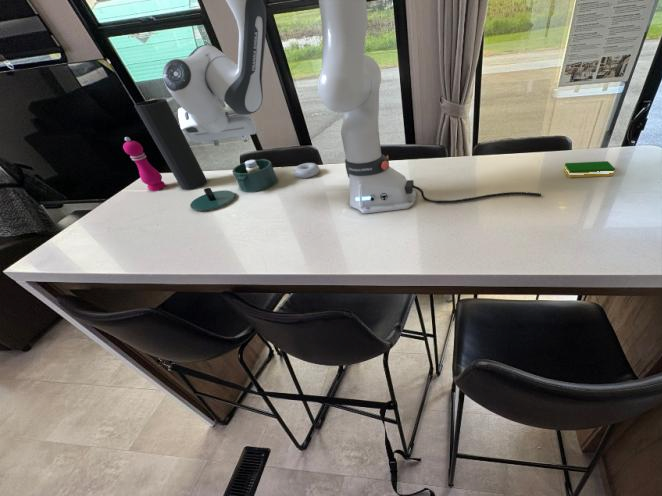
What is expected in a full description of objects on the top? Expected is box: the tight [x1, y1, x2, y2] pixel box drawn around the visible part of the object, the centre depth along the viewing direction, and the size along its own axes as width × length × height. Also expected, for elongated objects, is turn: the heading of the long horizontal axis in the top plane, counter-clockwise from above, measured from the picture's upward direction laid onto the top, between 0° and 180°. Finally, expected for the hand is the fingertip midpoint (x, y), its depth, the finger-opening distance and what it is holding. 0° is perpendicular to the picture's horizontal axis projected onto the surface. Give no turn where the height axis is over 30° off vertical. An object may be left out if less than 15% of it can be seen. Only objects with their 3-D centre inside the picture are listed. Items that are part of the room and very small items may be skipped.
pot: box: [231, 158, 278, 193], centre depth 125 cm, size 14×20×7 cm
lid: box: [189, 187, 236, 212], centre depth 117 cm, size 15×15×5 cm
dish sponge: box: [563, 160, 616, 178], centre depth 108 cm, size 7×14×2 cm, turn 84°
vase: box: [133, 98, 208, 191], centre depth 123 cm, size 10×10×30 cm
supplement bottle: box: [244, 159, 260, 173], centre depth 124 cm, size 5×5×8 cm
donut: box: [293, 162, 320, 179], centre depth 129 cm, size 10×4×10 cm
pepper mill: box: [122, 136, 167, 192], centre depth 127 cm, size 7×7×20 cm
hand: (231, 141), depth 105 cm, fingers open, 8 cm apart
